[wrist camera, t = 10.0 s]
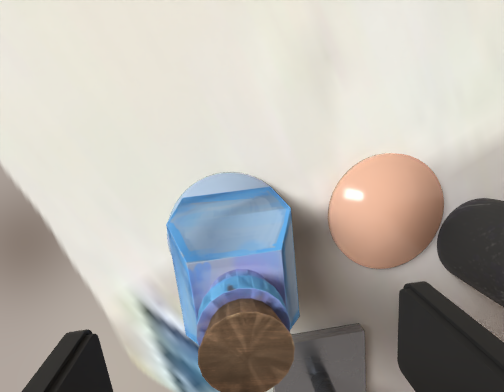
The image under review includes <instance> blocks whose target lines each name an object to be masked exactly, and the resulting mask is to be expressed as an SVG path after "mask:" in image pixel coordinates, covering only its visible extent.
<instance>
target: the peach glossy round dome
mask: <svg viewBox="0 0 504 392" xmlns="http://www.w3.org/2000/svg"><path fill="white" fill-rule="evenodd" d="M443 208H444V199H443V192H442V189H441V185H440V183H439V181H438V179H437V177H436V175H435V174H434V172H433V171H432V170H431V169H430V168H429V167H428V166H427V165H426V164H424V163H423V162H421V161H420V160H418V159H416V158H414V157H411V156H408V155H403V154H394V153H385V154H379V155H374V156H371V157H368V158H366V159H364V160H362V161H360V162H359V163H357V164H356V165H354V166H353V167H352V168H351V169H349V170H348V171H347V172H346V173H345V175H344V176H343V177H342V178H341V179H340V181H339V182H338V184H337V186H336V187H335V189H334V191H333V194H332V196H331V199H330V203H329V209H328V224H329V229H330V233H331V235H332V238H333V240H334V242H335V243H336V245H337V246H338V248H339V249H340V250H341V251H342V252H343V253H344V254H345V255H346V256H347V257H348V258H350V259H351V260H352V261H354V262H356V263H358V264H360V265H362V266H365V267H369V268H378V269H383V268H391V267H395V266H398V265H401V264H404V263H406V262H408V261H410V260H411V259H413V258H414V257H416V256H417V255H418V254H420V253H421V252H422V251H423V250H424V249H425V248H426V247H427V246H428V245H429V243H430V242H431V241H432V239H433V238H434V236H435V234H436V232H437V230H438V228H439V226H440V223H441V220H442V215H443Z"/></svg>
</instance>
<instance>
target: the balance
mask: <svg viewBox="0 0 504 392" xmlns="http://www.w3.org/2000/svg"><path fill="white" fill-rule="evenodd" d="M291 336H292V339H293V343H294V346H295V350H294V361H293V363H292V365H291V367H290V369H289V372H288V373H287V374H286V376H285V377H284V378H283V379H282V380H281V381H280V382H279V383H278V384H277V385H275V386H274V387H273V390H274V392H366V375H365V333H364V330H363V328H362V327H361V326H360V324H353V325H347V326H341V327H335V328H329V329H323V330H317V331H311V332H305V333H299V334H293V335H291Z"/></svg>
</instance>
